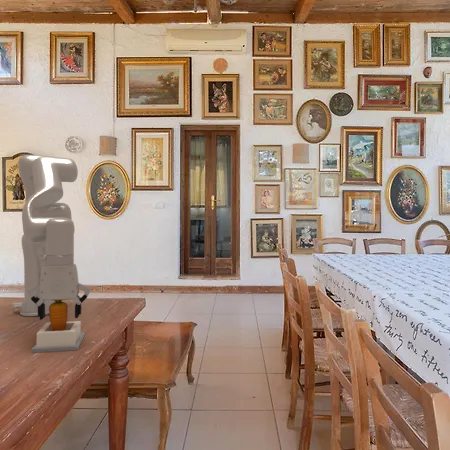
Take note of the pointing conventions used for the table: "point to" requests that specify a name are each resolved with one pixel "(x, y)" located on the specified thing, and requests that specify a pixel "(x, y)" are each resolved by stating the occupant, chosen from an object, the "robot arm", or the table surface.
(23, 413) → the table surface
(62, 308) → the carrot
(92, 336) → the table surface
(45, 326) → the holder
